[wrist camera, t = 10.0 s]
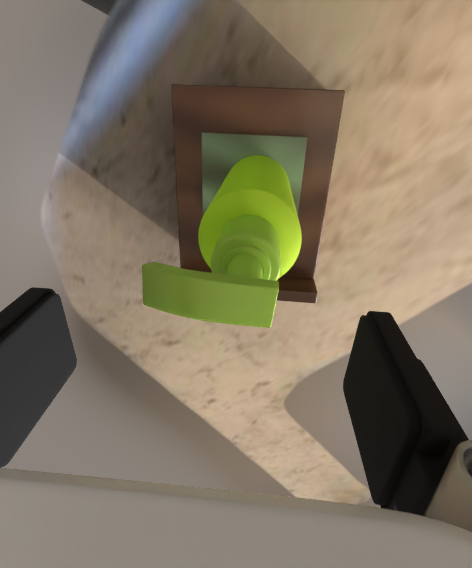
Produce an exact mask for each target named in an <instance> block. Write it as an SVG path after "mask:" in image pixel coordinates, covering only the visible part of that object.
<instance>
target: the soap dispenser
mask: <svg viewBox="0 0 472 568" xmlns="http://www.w3.org/2000/svg"><path fill="white" fill-rule="evenodd" d="M198 240H199V247H200V250H201V253H202V256H203V258H204V260H205V261H206V263H207V264H208V266H209V267H210V268H211V271H212V273H208V272H201V271H194V270H188V269H183V268H178V267H174V266H170V265H166V264H162V263H158V262H152V263H147V264H144V265H143V266H142V280H143V303H144V305H146V306H149V307H152V308H155V309H158V310H161V311H164V312H168V313H171V314H175V315H179V316H183V317H187V318H192V319H197V320H203V321H210V322H217V323H225V324H234V325H244V326H255V327H266V328H271V324H272V320H273V315H274V310H275V305H276V301H277V296H278V291H279V281H277V280H278V278H280V277H281V276H283V275H284V274H285V273H286V272H287V271H288V270H289V269H290V268H291V267H292V266H293V264H294V263H295V261H296V259H297V257H298V255H299V252H300V248H301V242H302V234H301V227H300V223H299V219H298V215H297V211H296V207H295V203H294V200H293V196H292V192H291V188H290V184H289V180H288V176H287V174H286V172H285V170H284V169H283V167H282V166H281V165H280V164H279V163H278V162H276V161H275V160H273V159H271V158H269V157H266V156H261V155H254V156H249V157H246V158H244V159H242V160H240V161H239V162H237V163H236V164H235V165H234V166H233V167H232V168H231V170H230V171H229V173H228V175H227V176H226V178H225V180H224V182H223V183H222V185H221V187H220V188H219V190H218V192H217V193H216V195H215V197H214V198H213V200H212V202H211V203H210V205H209V207H208V208H207V210H206V212H205V214H204V215H203V217H202V220H201V223H200V226H199V233H198Z"/></svg>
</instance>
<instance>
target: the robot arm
mask: <svg viewBox="0 0 472 568" xmlns="http://www.w3.org/2000/svg"><path fill="white" fill-rule="evenodd" d="M76 362H77V359H76V355H75V351H74V347H73V344H72V340H71V336H70V332H69V329H68V325H67V321H66V317H65V313H64V310H63V306H62V302H61V298H60V296H59V295H58V294H56V293H55V292H54V290H52V289H47V288H30V289H29V290H27V291H26V292H25V293H24V294H22V295H21V296H20V297H19V298H18V299H16V300H15V301H14V302H12V303H11V304H10V305H9V306H7V307H6V308H5V309H4V310H2V311H1V312H0V568H472V440H469V439H468V438H467V436H466V434H465V433H464V431H463V429H462V428H461V426H460V424H459V423H458V421H457V419H456V418H455V416H454V414H453V413H452V411H451V409H450V407H449V406H448V404H447V402H446V401H445V399H444V398H443V396H442V394H441V392H440V391H439V389H438V387H437V386H436V384H435V382H434V381H433V379H432V377H431V376H430V374H429V372H428V371H427V369H426V367H425V366H424V364H423V363H422V362H421V360H419V359H417V358H416V356H415V354H414V353H413V351H412V349H411V347H410V346H409V344H408V342H407V341H406V339H405V337H404V335H403V334H402V332H401V330H400V329H399V327H398V325H397V323H396V322H395V320H394V318H393V317H392V315H391V314H390V313H388V312H375V311H369V312H368V313H367V315H366V316H364V315H362V316H361V318H360V321H359V324H358V328H357V332H356V336H355V340H354V343H353V347H352V351H351V355H350V358H349V362H348V366H347V370H346V374H345V377H344V382H343V390H344V395H345V399H346V402H347V406H348V410H349V414H350V417H351V421H352V425H353V429H354V432H355V436H356V440H357V444H358V447H359V451H360V455H361V459H362V462H363V466H364V470H365V473H366V477H367V481H368V485H369V489H370V492H371V496H372V499H373V501H374V503H375V504H378V505H380V506H381V508H377V507H369V506H362V505H354V504H346V503H338V502H330V501H322V500H313V499H305V498H296V497H287V496H277V495H267V494H257V493H249V492H239V491H230V490H220V489H211V488H201V487H191V486H181V485H172V484H162V483H152V482H141V481H132V480H121V479H112V478H101V477H91V476H81V475H71V474H59V473H50V472H38V471H28V470H18V469H7V468H1V467H3V466H5V465H7V464H8V463H9V461H10V460H11V459H12V457H13V456H14V454H15V453H16V452H17V450H18V449H19V448H20V446H21V445H22V443H23V442H24V440H25V439H26V438H27V436H28V435H29V433H30V432H31V431H32V429H33V428H34V426H35V425H36V423H37V422H38V421H39V419H40V418H41V416H42V415H43V413H44V412H45V411H46V409H47V408H48V406H49V405H50V404H51V402H52V401H53V399H54V398H55V397H56V395H57V394H58V392H59V391H60V389H61V388H62V387H63V385H64V384H65V382H66V381H67V379H68V378H69V377H70V375H71V374H72V372H73V371H74V369H75V367H76Z"/></svg>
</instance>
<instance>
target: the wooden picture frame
mask: <svg viewBox="0 0 472 568" xmlns="http://www.w3.org/2000/svg"><path fill="white" fill-rule="evenodd" d="M171 87H172V107H173V127H174V146H175V166H176V186H177V205H178V225H179V245H180V265H181V268H183V269H188V270H194V271H201V272H208V273H212V271H211V268H210V267H209V266H208V264H207V263H206V261H205V260H204V258H203V256H202V253H201V250H200V247H199V240H198V233H199V226H200V223H201V220H202V217H203V215H204V214H205V212H206V210H207V208H208V207H209V205H210V203H211V202H212V200H213V198H214V197H215V195H216V193H217V192H218V190H219V188H220V187H221V185H222V183H223V182H224V180H225V178H226V176H227V175H228V173H229V171H230V170H231V168H232V167H233V166H234V165H235V164H236V163H237V162H239V161H240V160H242V159H244V158H246V157H249V156H254V155H261V156H266V157H269V158H271V159H273V160H275V161H276V162H278V163H279V164H280V165H281V166H282V167H283V169H284V170H285V172H286V174H287V176H288V180H289V184H290V188H291V192H292V196H293V200H294V203H295V207H296V211H297V215H298V219H299V223H300V227H301V234H302V242H301V248H300V252H299V255H298V257H297V259H296V261H295V263H294V264H293V266H292V267H291V268H290V269H289V270H288V271H287V272H286V273H285V274H284V275H283V276H281V277H280V278H278V280H277V281H279V291H278V296H277V300H279V301H293V302H306V303H316V298H317V290H316V286H315V282H314V274H315V268H316V262H317V256H318V250H319V244H320V238H321V232H322V226H323V220H324V214H325V208H326V202H327V196H328V190H329V184H330V178H331V172H332V166H333V160H334V154H335V148H336V142H337V136H338V129H339V123H340V117H341V111H342V105H343V99H344V93H345V91H344V90H319V89H291V88H263V87H235V86H208V85H180V84H172V85H171Z"/></svg>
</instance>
